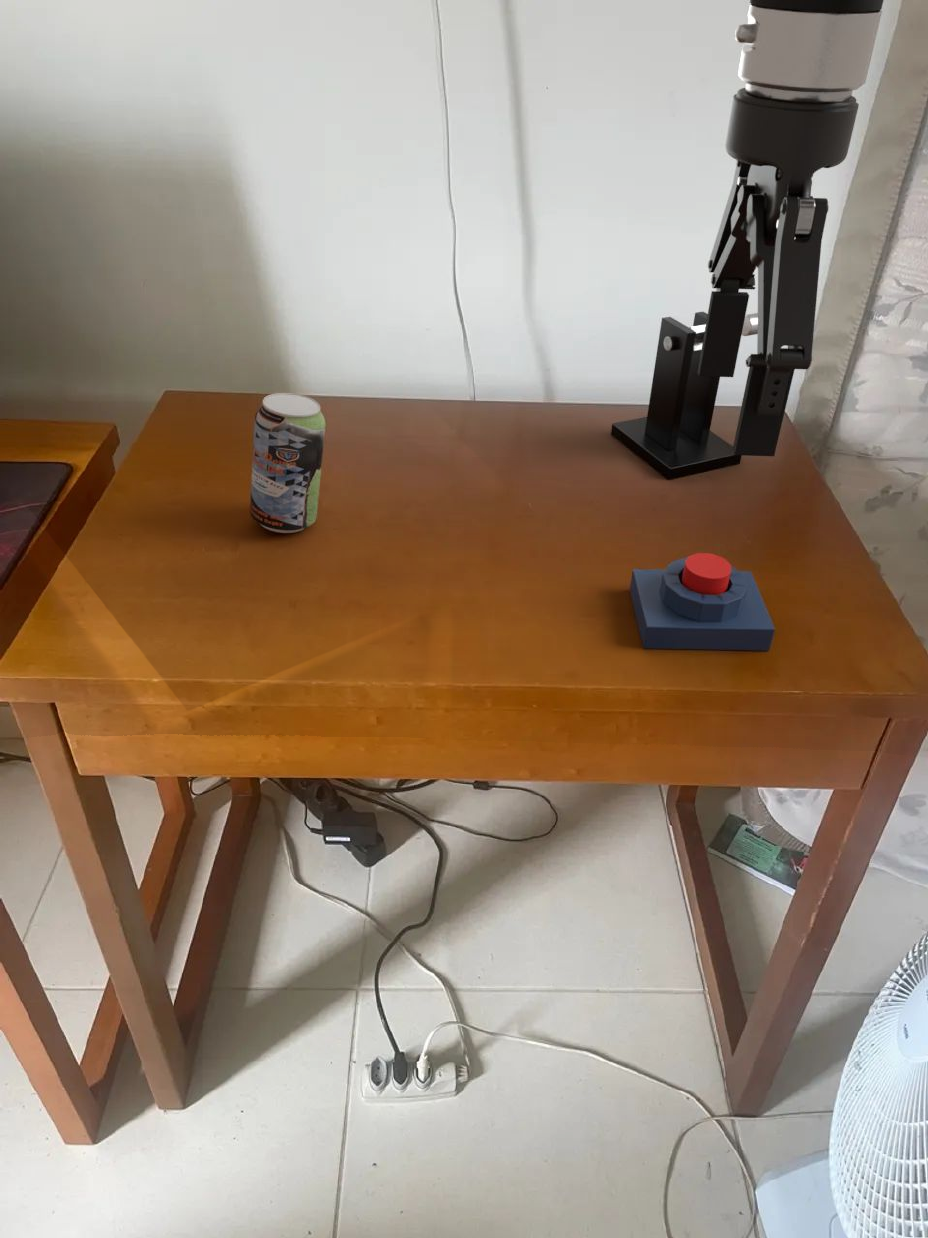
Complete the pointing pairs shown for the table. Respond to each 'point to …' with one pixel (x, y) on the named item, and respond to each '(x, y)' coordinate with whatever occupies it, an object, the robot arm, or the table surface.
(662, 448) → the bracket
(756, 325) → the lever
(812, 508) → the table surface
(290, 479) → the beverage can
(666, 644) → the button box
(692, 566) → the button
